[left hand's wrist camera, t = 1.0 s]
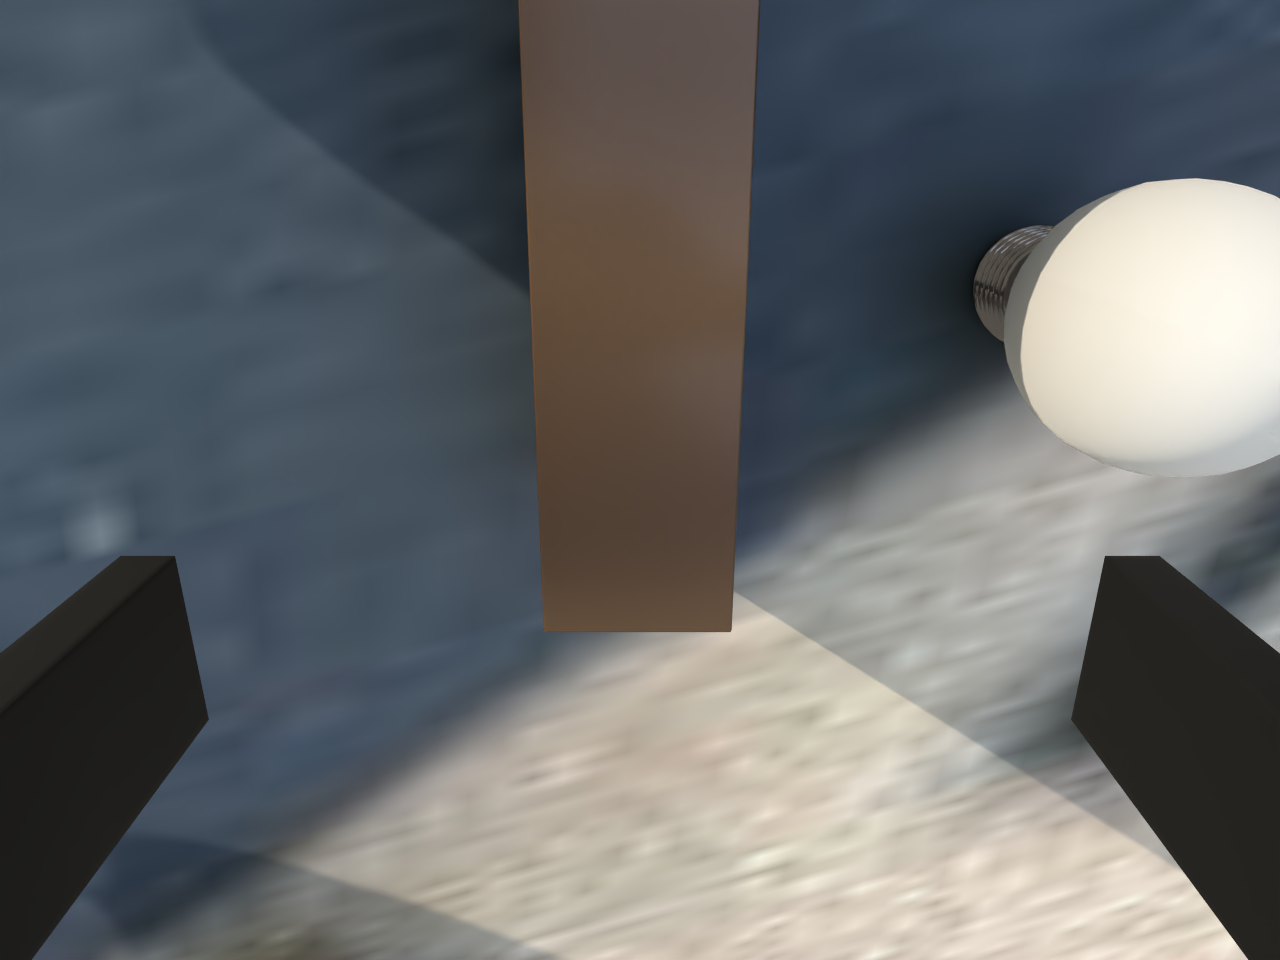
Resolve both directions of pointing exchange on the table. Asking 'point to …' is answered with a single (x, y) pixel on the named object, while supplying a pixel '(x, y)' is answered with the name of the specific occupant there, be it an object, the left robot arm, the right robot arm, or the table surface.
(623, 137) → the bar
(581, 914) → the table surface
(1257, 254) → the light bulb
